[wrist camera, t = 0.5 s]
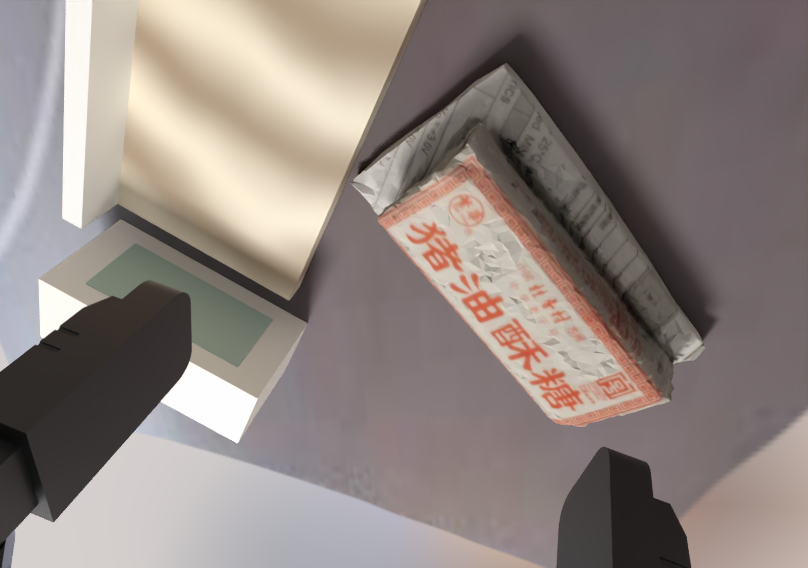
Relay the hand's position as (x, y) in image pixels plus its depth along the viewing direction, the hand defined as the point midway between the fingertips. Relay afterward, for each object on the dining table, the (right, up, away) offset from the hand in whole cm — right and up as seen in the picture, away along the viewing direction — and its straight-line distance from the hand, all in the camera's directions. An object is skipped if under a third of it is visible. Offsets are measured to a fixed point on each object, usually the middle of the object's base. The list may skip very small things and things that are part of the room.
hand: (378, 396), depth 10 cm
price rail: (-13, +14, +16) cm, 25 cm away
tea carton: (-13, +1, +28) cm, 31 cm away
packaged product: (+7, +4, +19) cm, 21 cm away
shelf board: (-8, +12, +18) cm, 23 cm away
